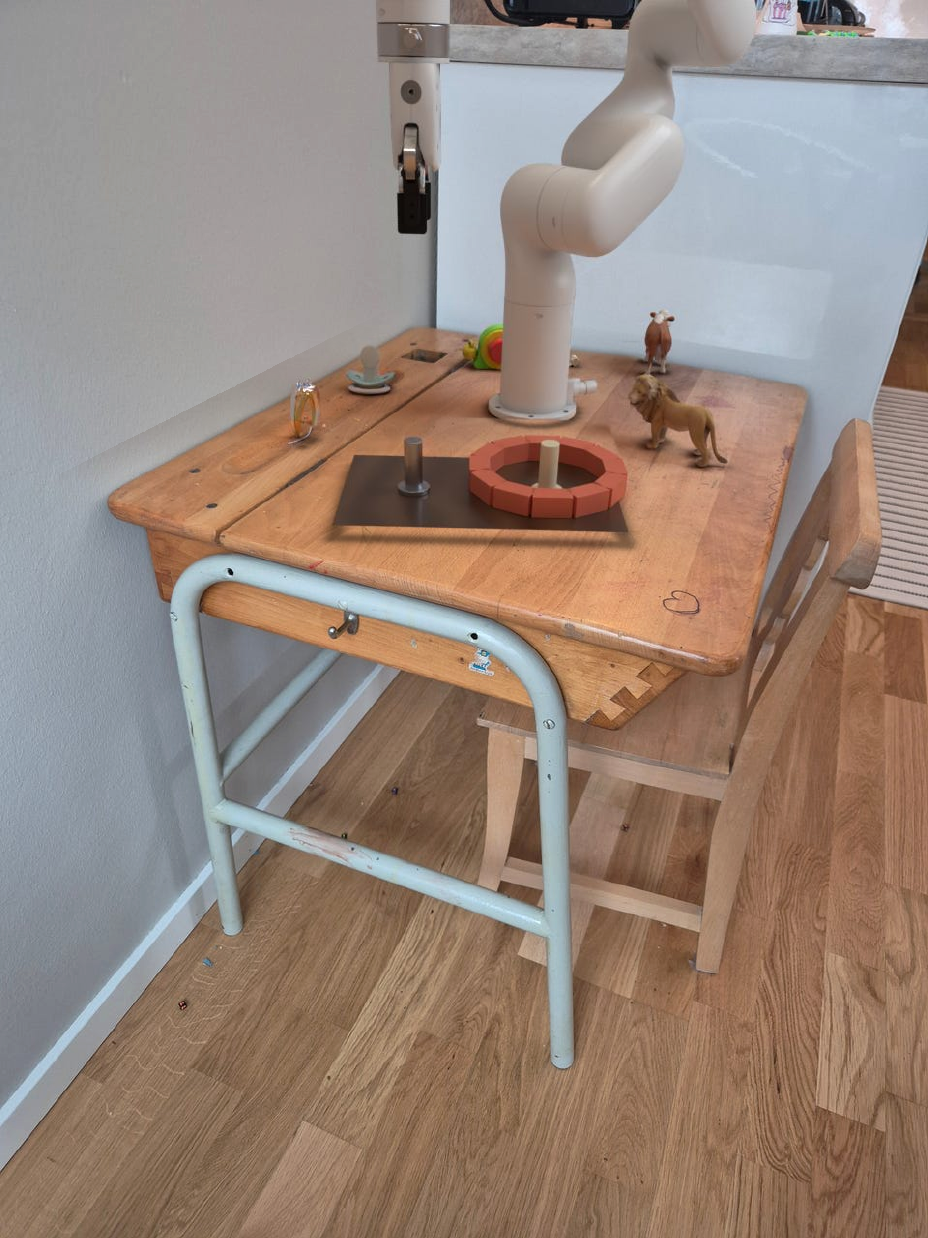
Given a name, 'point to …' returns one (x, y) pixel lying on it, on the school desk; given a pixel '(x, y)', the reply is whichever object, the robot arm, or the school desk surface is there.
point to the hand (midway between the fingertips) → (415, 226)
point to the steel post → (413, 469)
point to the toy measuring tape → (492, 349)
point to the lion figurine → (673, 416)
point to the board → (454, 497)
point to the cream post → (548, 465)
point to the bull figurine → (658, 339)
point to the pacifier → (369, 374)
